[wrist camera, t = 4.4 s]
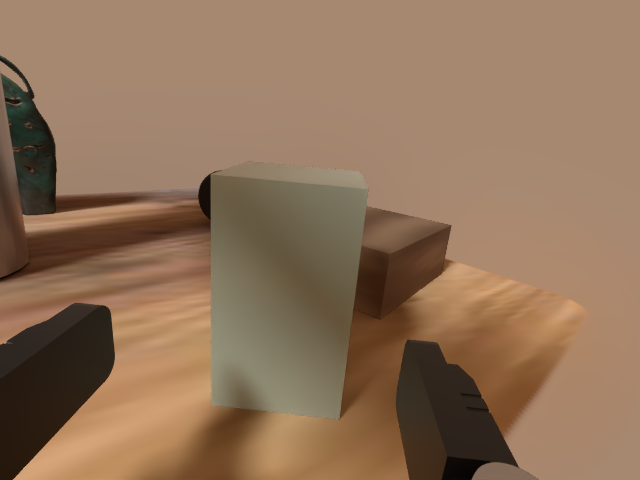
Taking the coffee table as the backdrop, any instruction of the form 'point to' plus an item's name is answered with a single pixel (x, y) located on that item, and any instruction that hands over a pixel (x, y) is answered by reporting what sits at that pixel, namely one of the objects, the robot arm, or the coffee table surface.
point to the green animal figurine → (30, 147)
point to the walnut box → (397, 259)
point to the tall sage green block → (283, 285)
